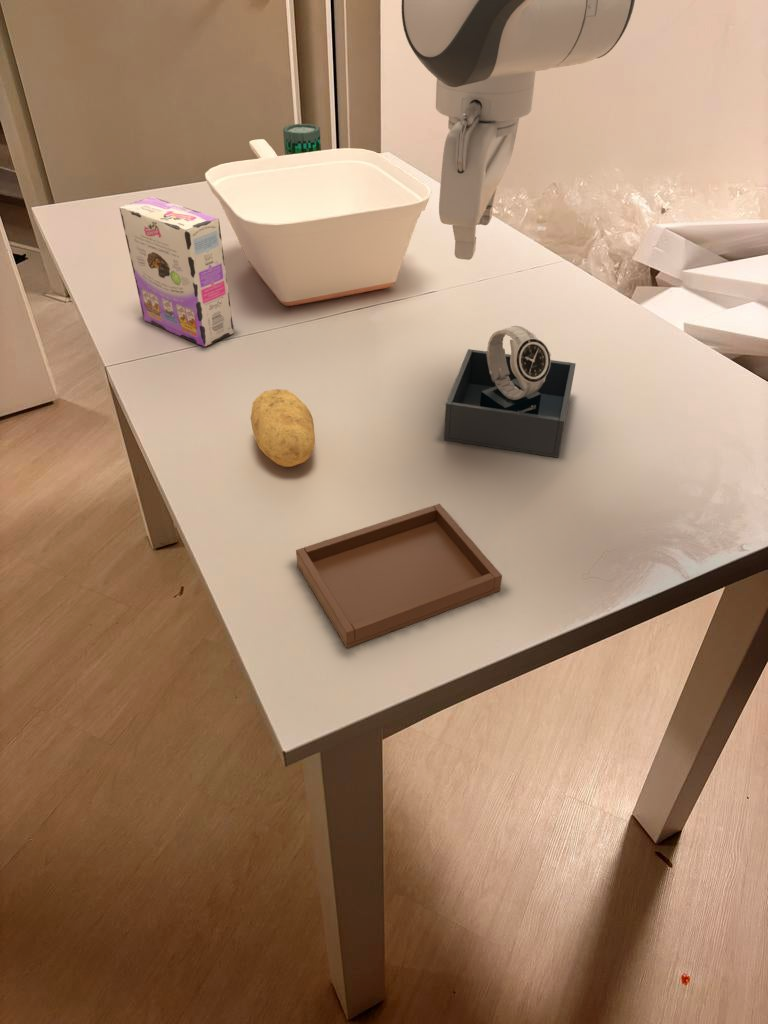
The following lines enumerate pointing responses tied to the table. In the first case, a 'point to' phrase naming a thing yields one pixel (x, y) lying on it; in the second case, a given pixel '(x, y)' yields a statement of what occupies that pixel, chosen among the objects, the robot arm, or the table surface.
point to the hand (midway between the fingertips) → (473, 238)
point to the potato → (283, 427)
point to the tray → (396, 573)
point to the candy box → (179, 269)
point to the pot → (320, 219)
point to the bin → (503, 425)
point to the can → (301, 138)
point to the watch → (516, 371)
